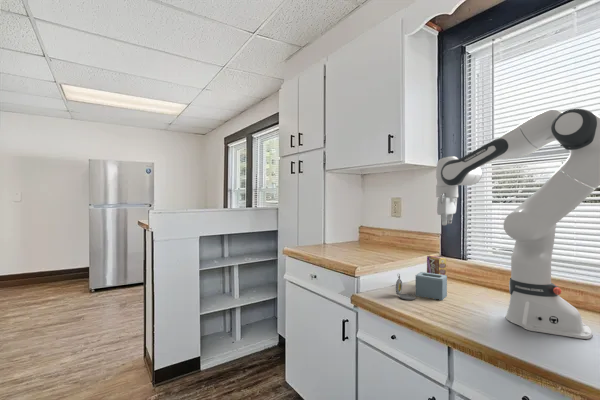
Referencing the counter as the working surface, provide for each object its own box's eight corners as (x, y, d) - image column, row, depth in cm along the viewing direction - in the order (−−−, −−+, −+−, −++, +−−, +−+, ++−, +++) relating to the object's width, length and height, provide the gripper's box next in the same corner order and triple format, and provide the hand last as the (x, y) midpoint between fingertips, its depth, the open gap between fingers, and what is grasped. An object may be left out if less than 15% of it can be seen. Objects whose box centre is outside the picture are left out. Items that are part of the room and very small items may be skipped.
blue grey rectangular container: (446, 296, 135) (446, 275, 135) (442, 300, 129) (442, 279, 129) (420, 291, 142) (420, 271, 142) (415, 295, 135) (415, 275, 135)
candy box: (446, 291, 142) (446, 258, 142) (438, 292, 141) (438, 258, 141) (434, 286, 151) (434, 254, 151) (426, 286, 150) (426, 255, 150)
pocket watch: (417, 300, 129) (417, 276, 129) (397, 300, 129) (397, 276, 129) (411, 294, 137) (411, 272, 137) (392, 294, 137) (392, 272, 137)
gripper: (449, 192, 127) (449, 226, 127) (459, 193, 143) (459, 223, 143) (433, 193, 131) (433, 225, 131) (444, 193, 147) (444, 222, 147)
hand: (446, 224), depth 137 cm, fingers open, 8 cm apart
